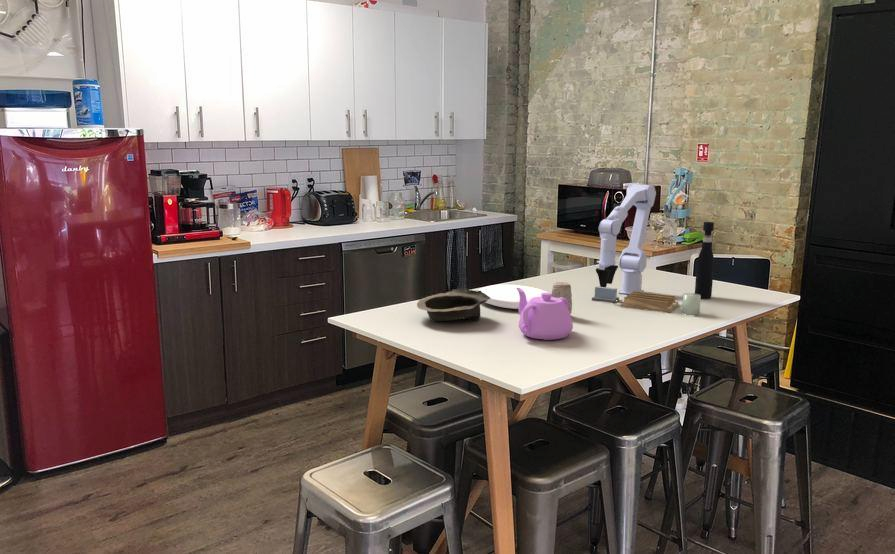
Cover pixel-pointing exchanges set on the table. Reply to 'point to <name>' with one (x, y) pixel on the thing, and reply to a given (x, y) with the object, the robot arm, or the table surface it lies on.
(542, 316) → the teapot
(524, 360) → the table surface
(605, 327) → the table surface
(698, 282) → the black thermos bottle
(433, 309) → the stone bowl
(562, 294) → the carving
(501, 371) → the table surface
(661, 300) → the dish rack
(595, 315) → the table surface
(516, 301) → the plate
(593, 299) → the drying stand
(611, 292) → the light blue slab
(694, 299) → the pale green cylinder
